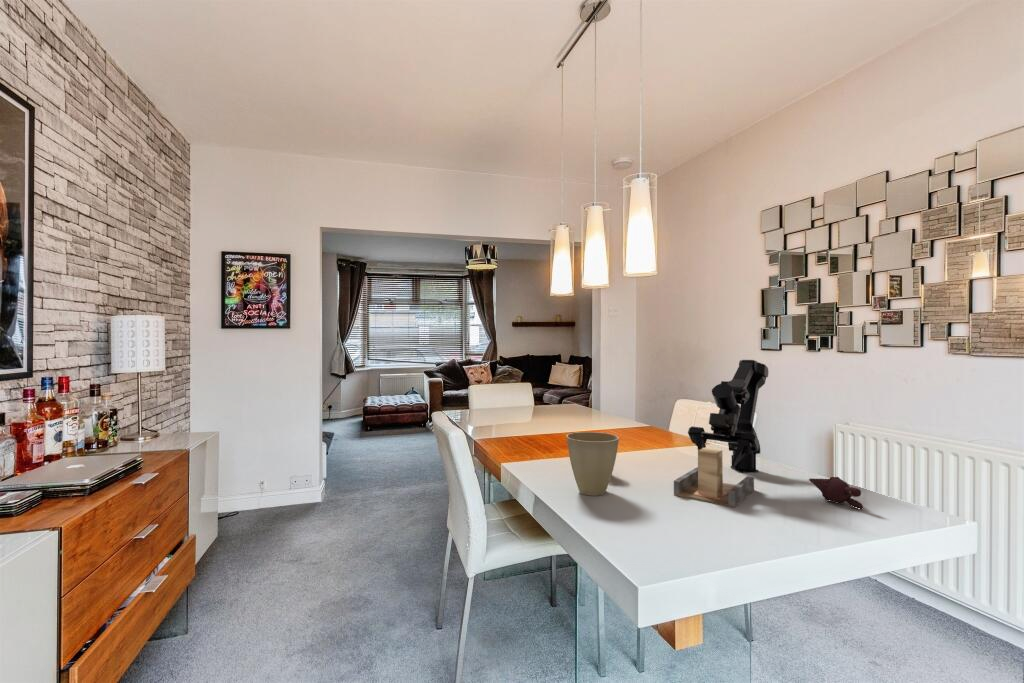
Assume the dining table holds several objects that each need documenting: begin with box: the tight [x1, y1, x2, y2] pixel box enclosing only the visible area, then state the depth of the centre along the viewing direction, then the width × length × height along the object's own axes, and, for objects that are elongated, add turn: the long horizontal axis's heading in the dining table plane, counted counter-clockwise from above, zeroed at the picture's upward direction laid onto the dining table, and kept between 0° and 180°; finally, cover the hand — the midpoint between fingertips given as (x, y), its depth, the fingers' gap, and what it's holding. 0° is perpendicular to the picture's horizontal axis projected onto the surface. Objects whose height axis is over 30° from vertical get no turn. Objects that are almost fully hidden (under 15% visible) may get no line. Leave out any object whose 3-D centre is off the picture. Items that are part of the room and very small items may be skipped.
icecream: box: [808, 476, 864, 510], centre depth 126 cm, size 7×7×15 cm
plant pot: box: [565, 431, 620, 496], centre depth 135 cm, size 15×15×16 cm
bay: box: [673, 466, 755, 509], centre depth 134 cm, size 19×16×4 cm
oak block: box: [697, 447, 724, 497], centre depth 131 cm, size 5×5×12 cm
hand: (716, 462), depth 135 cm, fingers open, 9 cm apart
